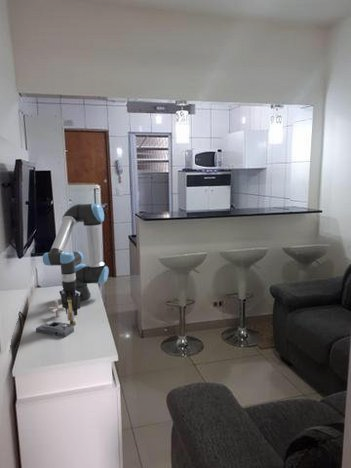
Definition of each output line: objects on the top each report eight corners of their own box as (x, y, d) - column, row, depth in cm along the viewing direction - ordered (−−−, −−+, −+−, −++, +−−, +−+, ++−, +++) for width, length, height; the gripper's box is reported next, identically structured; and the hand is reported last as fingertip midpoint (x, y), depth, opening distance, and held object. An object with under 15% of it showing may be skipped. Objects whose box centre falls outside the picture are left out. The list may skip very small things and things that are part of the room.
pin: (72, 322, 205) (70, 297, 202) (77, 323, 203) (75, 298, 201) (67, 325, 201) (65, 299, 199) (73, 326, 200) (71, 300, 197)
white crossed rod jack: (61, 320, 208) (59, 304, 206) (45, 319, 210) (44, 303, 208) (69, 314, 218) (68, 298, 216) (54, 313, 220) (53, 297, 218)
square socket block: (45, 326, 200) (44, 318, 200) (74, 331, 193) (73, 323, 192) (36, 331, 194) (35, 323, 193) (65, 337, 186) (64, 328, 185)
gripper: (52, 280, 198) (56, 320, 201) (76, 283, 191) (79, 324, 195) (62, 277, 204) (65, 315, 208) (85, 279, 198) (88, 319, 202)
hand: (72, 320), depth 202 cm, fingers closed on pin, 3 cm apart
